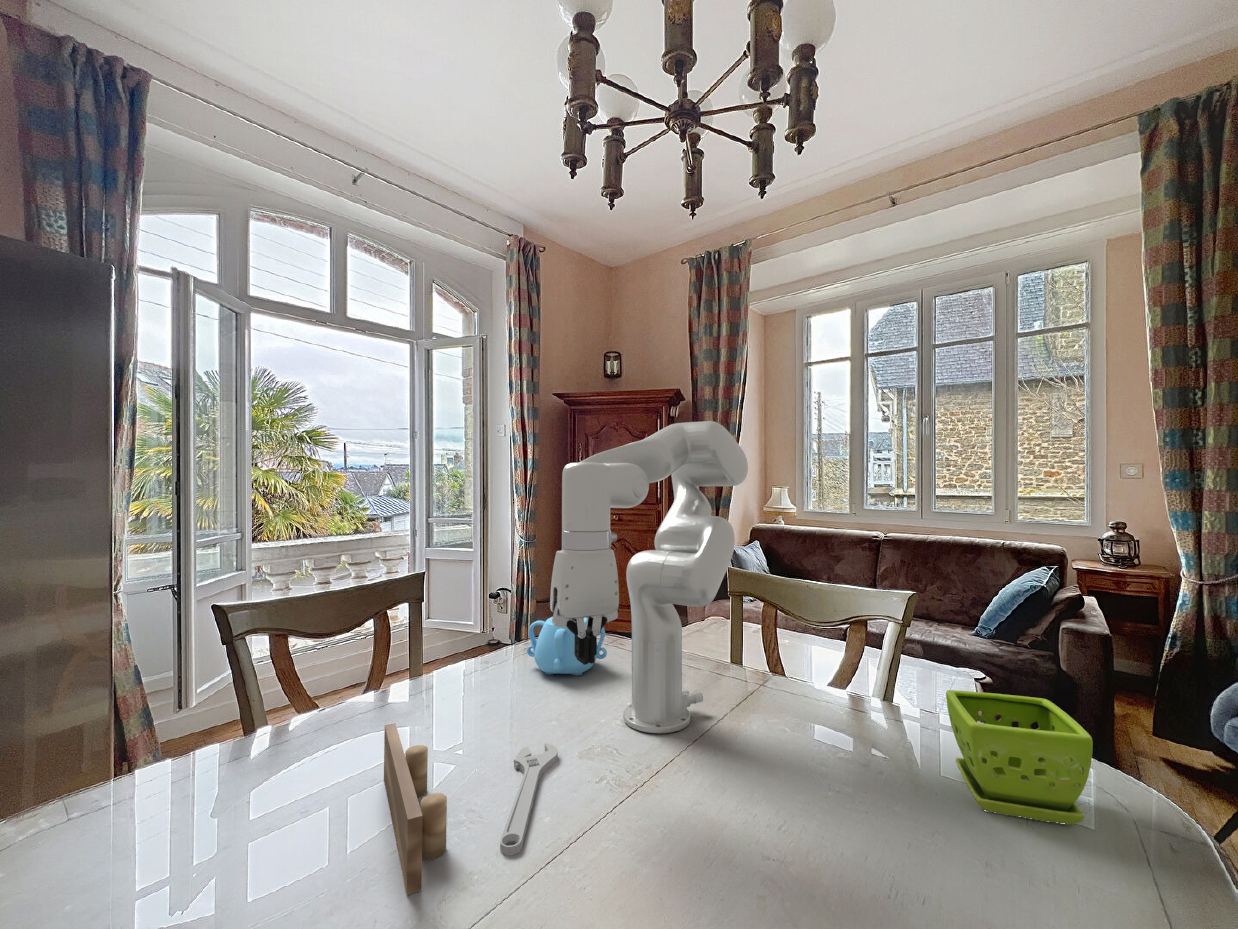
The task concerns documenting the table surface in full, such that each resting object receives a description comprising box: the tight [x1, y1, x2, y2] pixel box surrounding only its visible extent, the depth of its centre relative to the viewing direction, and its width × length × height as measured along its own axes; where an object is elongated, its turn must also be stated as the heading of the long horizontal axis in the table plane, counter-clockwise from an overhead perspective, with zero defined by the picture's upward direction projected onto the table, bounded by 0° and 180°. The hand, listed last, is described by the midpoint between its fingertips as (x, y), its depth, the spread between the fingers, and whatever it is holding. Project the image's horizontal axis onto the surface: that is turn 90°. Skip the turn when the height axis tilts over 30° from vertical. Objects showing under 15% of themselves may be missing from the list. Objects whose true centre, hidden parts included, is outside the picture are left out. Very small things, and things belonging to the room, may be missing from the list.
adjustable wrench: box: [499, 742, 559, 856], centre depth 77 cm, size 25×6×2 cm, turn 175°
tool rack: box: [383, 722, 448, 896], centre depth 71 cm, size 5×26×8 cm, turn 29°
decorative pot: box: [526, 616, 608, 676], centre depth 130 cm, size 16×16×14 cm
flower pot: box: [945, 689, 1094, 826], centre depth 76 cm, size 14×14×13 cm
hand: (585, 661), depth 83 cm, fingers closed
